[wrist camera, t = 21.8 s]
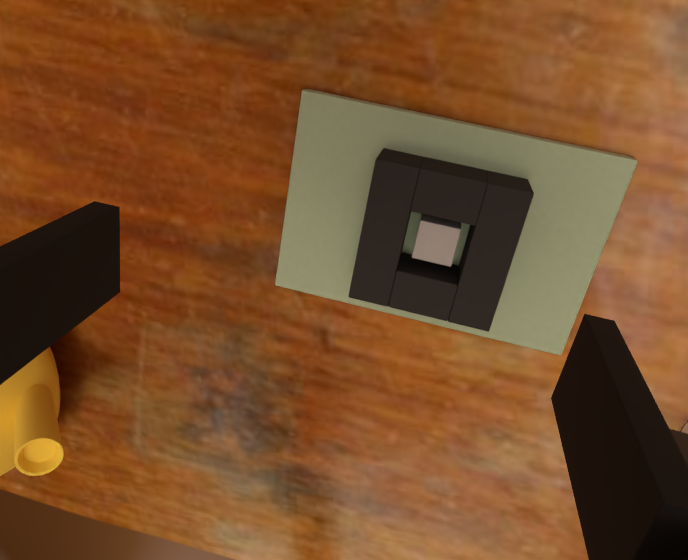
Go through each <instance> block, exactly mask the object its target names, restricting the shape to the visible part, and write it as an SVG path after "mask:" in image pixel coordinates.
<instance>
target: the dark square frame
mask: <svg viewBox="0 0 688 560" xmlns="http://www.w3.org/2000/svg"><path fill="white" fill-rule="evenodd" d="M533 196H534V192H533V190H532V187H531V185H530V183H529V181H528V179H525V178H521V177H516V176H511V175H507V174H502V173H498V172H493V171H488V170H484V169H479V168H475V167H470V166H465V165H461V164H456V163H452V162H447V161H442V160H438V159H433V158H428V157H423V156H419V155H414V154H409V153H405V152H400V151H396V150H391V149H386V148H383V149H382V151H381V152H380V154H379V155H378V157H377V158H376V160H375V165H374V170H373V175H372V180H371V185H370V190H369V195H368V200H367V205H366V210H365V215H364V220H363V225H362V230H361V235H360V240H359V245H358V250H357V255H356V260H355V265H354V270H353V275H352V280H351V285H350V290H349V295H348V296H349V298H353V299H357V300H361V301H366V302H370V303H374V304H378V305H382V306H386V307H387V306H389V307H391V308H395V309H399V310H403V311H407V312H411V313H415V314H419V315H423V316H427V317H431V318H435V319H440V320H444V321H448V322H451V323H455V324H459V325H463V326H467V327H471V328H475V329H479V330H483V331H487V332H489V330H490V327H491V324H492V321H493V318H494V315H495V312H496V309H497V306H498V303H499V300H500V297H501V294H502V291H503V288H504V284H505V281H506V278H507V275H508V272H509V269H510V266H511V263H512V260H513V257H514V254H515V251H516V248H517V245H518V242H519V238H520V235H521V232H522V229H523V226H524V223H525V220H526V217H527V214H528V211H529V208H530V205H531V202H532V199H533ZM411 211H412V212H416V213H421V214H425V215H430V216H434V217H439V218H443V219H447V220H452V221H456V222H461V223H465V224H469V225H470V228H469V231H468V235H467V238H466V242H465V245H464V249H463V252H462V256H461V259H460V263H459V266H458V265H455V264H452V265H451V267H449V266H445V265H441V264H436V263H432V262H428V261H424V260H419V259H415V258H412V254H408V253H404V252H402V248H403V244H404V240H405V236H406V231H407V227H408V223H409V219H410V214H411Z"/></svg>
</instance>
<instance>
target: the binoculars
mask: <svg viewBox="0 0 688 560" xmlns="http://www.w3.org/2000/svg"><path fill="white" fill-rule="evenodd" d="M681 432H683V433H687V434H688V422H687V423H686V424H685V426H684V427H683V429H682V431H681Z"/></svg>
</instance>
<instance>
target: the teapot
mask: <svg viewBox="0 0 688 560" xmlns="http://www.w3.org/2000/svg"><path fill="white" fill-rule="evenodd" d="M59 410H60V385H59V376H58V371H57V367H56V362H55V359H54V356H53V353H52V351H51V348H50V347H49V348H47V349H46V350H45V351H43V352H42V353H41V354H40V355H38V356H37V357H36V358H34V359H33V360H32V361H31V362H29V363H28V364H27V365H25V366H24V367H23V368H22V369H20V370H19V371H18V372H17V373H15V374H14V375H13V376H11V377H10V378H9V379H8V380H6V381H5V382H4V383H2V384H1V385H0V476H1V475H3V474H4V473H6V472H8V471H10V470H11V469H13V468H14V467H16V468H17V469H18V470H19V471H20V472H22V473H24V474H26V475H31V476H38V475H43V474H46V473H49V472H51V471H53V470H54V469H55V468H57V466H58V465H59V464H60V463H61V461H62V459H63V455H64V453H63V446H62V441H61V436H60V431H59V426H58V421H57V419H58V415H59Z"/></svg>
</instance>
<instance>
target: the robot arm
mask: <svg viewBox="0 0 688 560" xmlns="http://www.w3.org/2000/svg"><path fill="white" fill-rule="evenodd" d="M119 292H120V218H119V207H117V206H113V205H108V204H104V203H100V202H95V201H94V202H92V203H90V204H88V205H86V206H84V207H82V208H80V209H78V210H76V211H73V212H71V213H69V214H67V215H65V216H63V217H61V218H59V219H57V220H55V221H53V222H51V223H48V224H46V225H44V226H42V227H40V228H38V229H36V230H34V231H32V232H30V233H28V234H25V235H23V236H21V237H19V238H17V239H15V240H13V241H11V242H9V243H7V244H5V245H3V246H0V385H1V384H2V383H4V382H5V381H6V380H8V379H9V378H10V377H11V376H13V375H14V374H15V373H17V372H18V371H19V370H20V369H22V368H23V367H24V366H25V365H27V364H28V363H29V362H31V361H32V360H33V359H34V358H36V357H37V356H38V355H40V354H41V353H42V352H43V351H45V350H46V349H47V348H49V347H50V346H51V345H52V344H54V343H55V342H56V341H58V340H59V339H60V338H61V337H63V336H64V335H65V334H67V333H68V332H69V331H70V330H72V329H73V328H74V327H76V326H77V325H78V324H79V323H81V322H82V321H83V320H85V319H86V318H87V317H88V316H90V315H91V314H92V313H94V312H95V311H96V310H97V309H99V308H100V307H101V306H103V305H104V304H105V303H106V302H108V301H109V300H110V299H112V298H113V297H114V296H115V295H117V294H118V293H119ZM551 399H552V403H553V408H554V412H555V416H556V421H557V425H558V429H559V433H560V438H561V442H562V446H563V451H564V455H565V459H566V463H567V468H568V472H569V476H570V480H571V485H572V489H573V493H574V498H575V502H576V506H577V510H578V515H579V519H580V523H581V528H582V532H583V536H584V540H585V545H586V549H587V553H588V557H589V560H688V434H687V433H683V432H679V431H675V430H671V429H669V427H668V426H667V424H666V422H665V420H664V418H663V416H662V414H661V412H660V410H659V408H658V406H657V404H656V402H655V400H654V398H653V396H652V394H651V392H650V390H649V388H648V386H647V384H646V382H645V380H644V378H643V376H642V374H641V372H640V370H639V368H638V366H637V364H636V362H635V361H634V359H633V357H632V355H631V353H630V351H629V349H628V347H627V345H626V343H625V341H624V339H623V337H622V335H621V333H620V331H619V329H618V327H617V325H616V323H615V321H613V320H609V319H604V318H600V317H596V316H591V315H587V314H584V317H583V319H582V322H581V324H580V327H579V329H578V332H577V335H576V337H575V340H574V342H573V345H572V347H571V350H570V352H569V355H568V357H567V360H566V362H565V365H564V367H563V370H562V372H561V375H560V377H559V380H558V382H557V385H556V387H555V390H554V392H553V395H552V398H551Z"/></svg>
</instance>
